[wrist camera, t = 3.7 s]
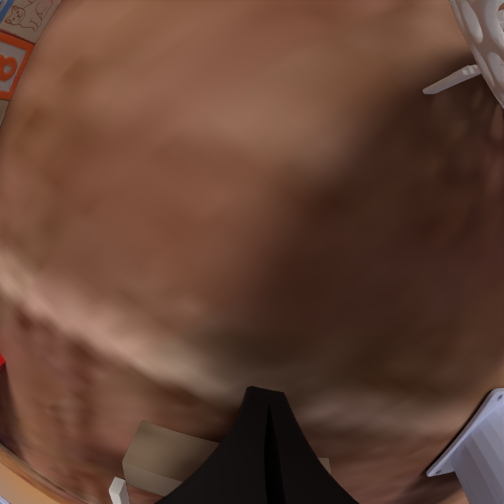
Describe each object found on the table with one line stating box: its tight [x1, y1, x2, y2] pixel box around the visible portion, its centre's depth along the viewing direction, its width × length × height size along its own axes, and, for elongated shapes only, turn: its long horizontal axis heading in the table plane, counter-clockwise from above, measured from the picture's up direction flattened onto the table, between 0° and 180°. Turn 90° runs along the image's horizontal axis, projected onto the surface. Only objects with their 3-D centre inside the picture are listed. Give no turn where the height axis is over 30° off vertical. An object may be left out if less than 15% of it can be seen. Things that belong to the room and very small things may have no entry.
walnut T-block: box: [122, 420, 331, 497], centre depth 12 cm, size 10×8×3 cm
